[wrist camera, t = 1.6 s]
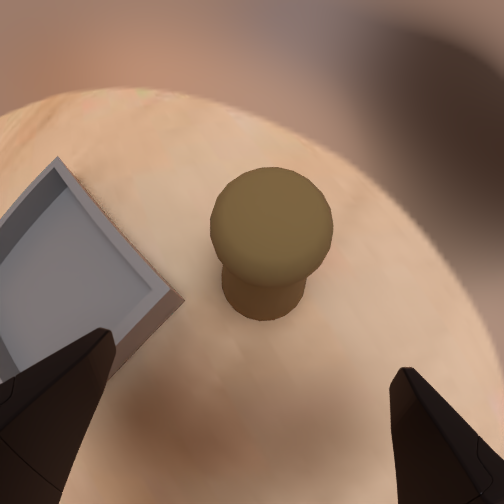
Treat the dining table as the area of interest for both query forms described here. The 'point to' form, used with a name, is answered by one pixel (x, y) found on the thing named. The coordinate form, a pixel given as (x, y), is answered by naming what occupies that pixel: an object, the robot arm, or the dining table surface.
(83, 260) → the grey bin
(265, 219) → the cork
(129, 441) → the dining table surface
